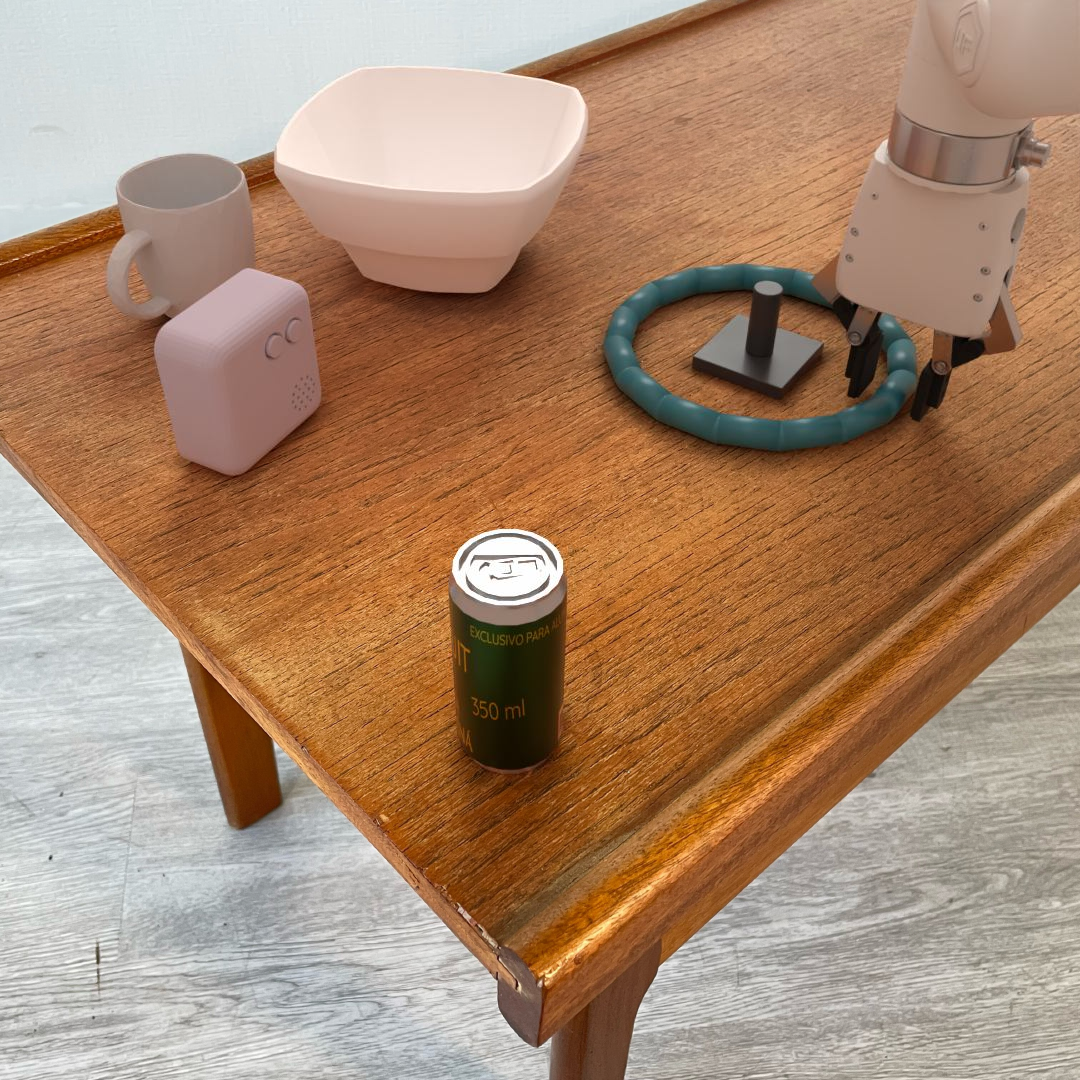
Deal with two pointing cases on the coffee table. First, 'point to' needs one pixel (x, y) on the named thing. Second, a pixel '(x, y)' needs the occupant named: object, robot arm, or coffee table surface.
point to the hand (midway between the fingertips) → (891, 397)
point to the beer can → (508, 648)
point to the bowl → (432, 169)
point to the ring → (743, 427)
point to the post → (759, 348)
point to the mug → (180, 232)
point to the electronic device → (239, 370)
